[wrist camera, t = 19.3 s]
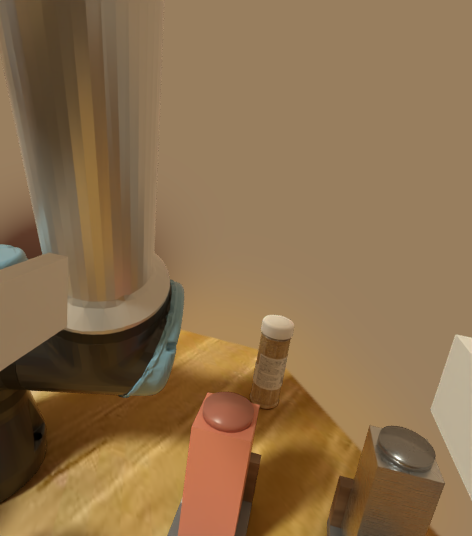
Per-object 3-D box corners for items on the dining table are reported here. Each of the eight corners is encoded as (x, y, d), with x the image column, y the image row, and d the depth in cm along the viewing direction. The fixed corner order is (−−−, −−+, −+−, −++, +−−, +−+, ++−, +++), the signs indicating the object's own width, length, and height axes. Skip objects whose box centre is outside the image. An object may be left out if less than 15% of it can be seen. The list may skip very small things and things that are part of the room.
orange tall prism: (231, 552, 35) (252, 433, 31) (177, 536, 35) (192, 418, 32) (241, 505, 39) (261, 397, 36) (194, 492, 40) (208, 384, 36)
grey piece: (221, 666, 28) (232, 607, 27) (131, 635, 29) (136, 576, 28) (252, 501, 42) (261, 455, 40) (190, 484, 43) (196, 437, 41)
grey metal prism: (403, 594, 33) (448, 475, 30) (344, 576, 34) (380, 458, 30) (392, 540, 38) (429, 431, 34) (340, 525, 39) (371, 417, 35)
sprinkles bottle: (257, 388, 62) (271, 310, 59) (283, 399, 60) (299, 320, 56) (243, 401, 59) (257, 320, 55) (270, 414, 56) (287, 331, 53)
